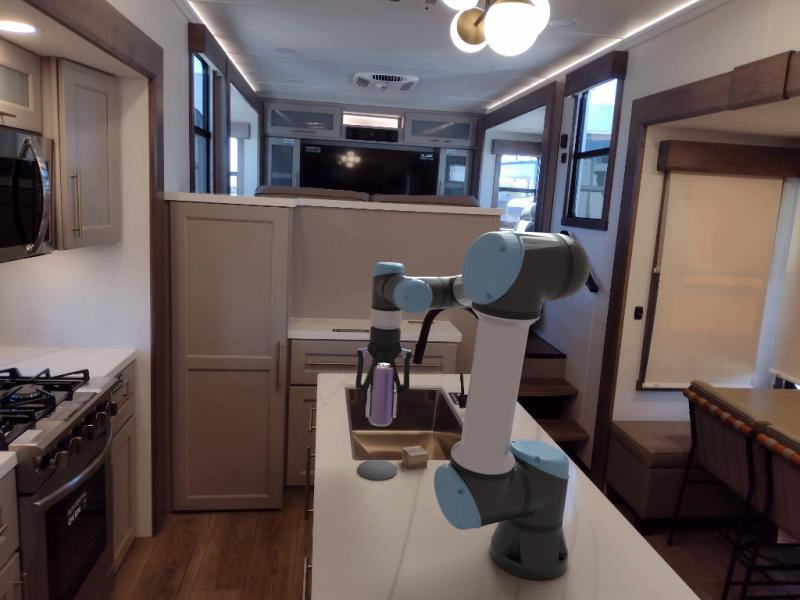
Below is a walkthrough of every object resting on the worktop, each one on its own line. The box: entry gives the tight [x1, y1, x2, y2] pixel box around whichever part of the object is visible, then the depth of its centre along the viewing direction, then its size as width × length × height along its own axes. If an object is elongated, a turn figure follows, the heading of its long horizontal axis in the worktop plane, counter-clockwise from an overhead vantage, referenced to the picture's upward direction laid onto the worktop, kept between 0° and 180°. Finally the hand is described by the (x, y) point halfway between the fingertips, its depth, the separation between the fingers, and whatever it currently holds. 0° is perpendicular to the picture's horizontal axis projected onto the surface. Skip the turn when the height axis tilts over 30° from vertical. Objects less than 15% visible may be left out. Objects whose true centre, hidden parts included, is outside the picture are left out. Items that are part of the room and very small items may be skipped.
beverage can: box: [368, 363, 396, 427], centre depth 144 cm, size 6×6×15 cm
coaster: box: [357, 459, 398, 481], centre depth 148 cm, size 10×10×1 cm
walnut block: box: [401, 445, 429, 471], centre depth 153 cm, size 5×5×4 cm
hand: (380, 415), depth 145 cm, fingers closed on beverage can, 6 cm apart
